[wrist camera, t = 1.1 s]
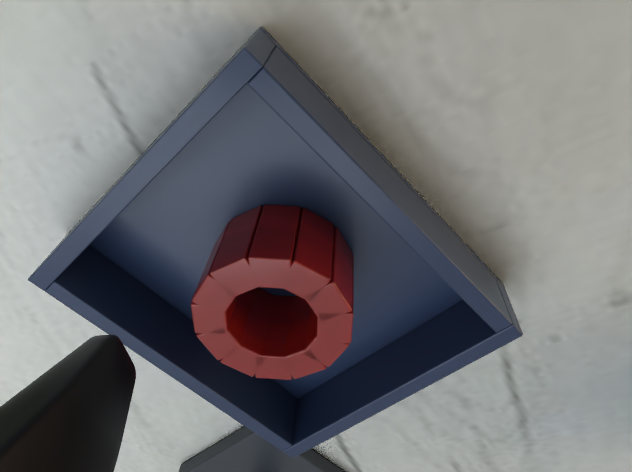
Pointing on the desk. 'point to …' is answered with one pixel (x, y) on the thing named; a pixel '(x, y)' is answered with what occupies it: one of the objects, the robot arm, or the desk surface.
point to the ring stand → (254, 457)
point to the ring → (272, 310)
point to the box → (369, 288)
